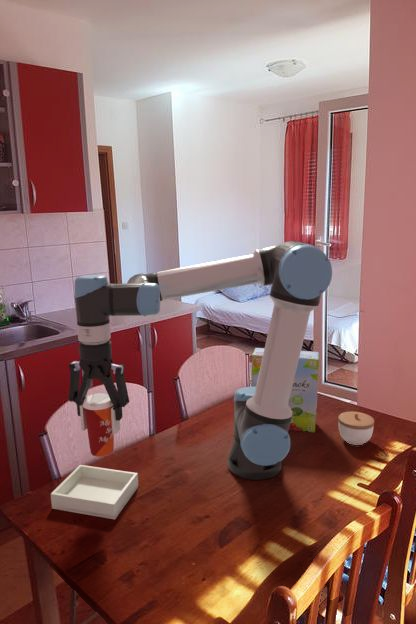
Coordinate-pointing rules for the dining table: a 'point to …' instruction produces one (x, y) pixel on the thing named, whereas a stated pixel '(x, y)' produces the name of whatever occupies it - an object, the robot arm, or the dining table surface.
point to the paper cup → (99, 424)
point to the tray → (95, 491)
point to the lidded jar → (355, 427)
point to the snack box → (298, 389)
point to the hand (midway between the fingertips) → (100, 429)
